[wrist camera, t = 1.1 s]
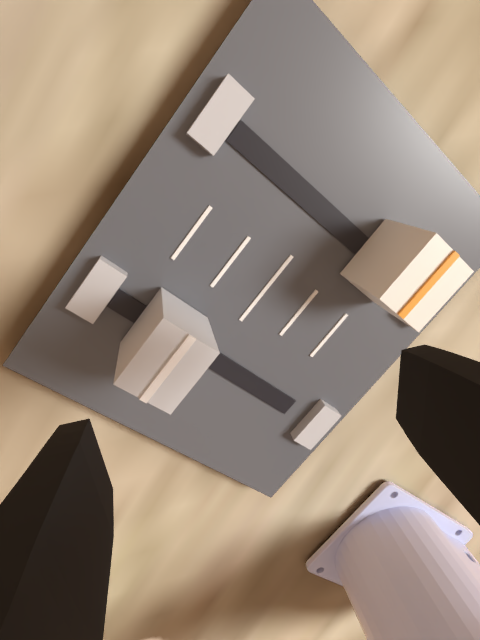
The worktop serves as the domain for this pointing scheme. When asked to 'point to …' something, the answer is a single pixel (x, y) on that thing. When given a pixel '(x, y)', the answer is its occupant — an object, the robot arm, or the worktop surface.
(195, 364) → the cream slider knob
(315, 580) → the worktop surface
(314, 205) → the fader console
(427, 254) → the fader cap cream
